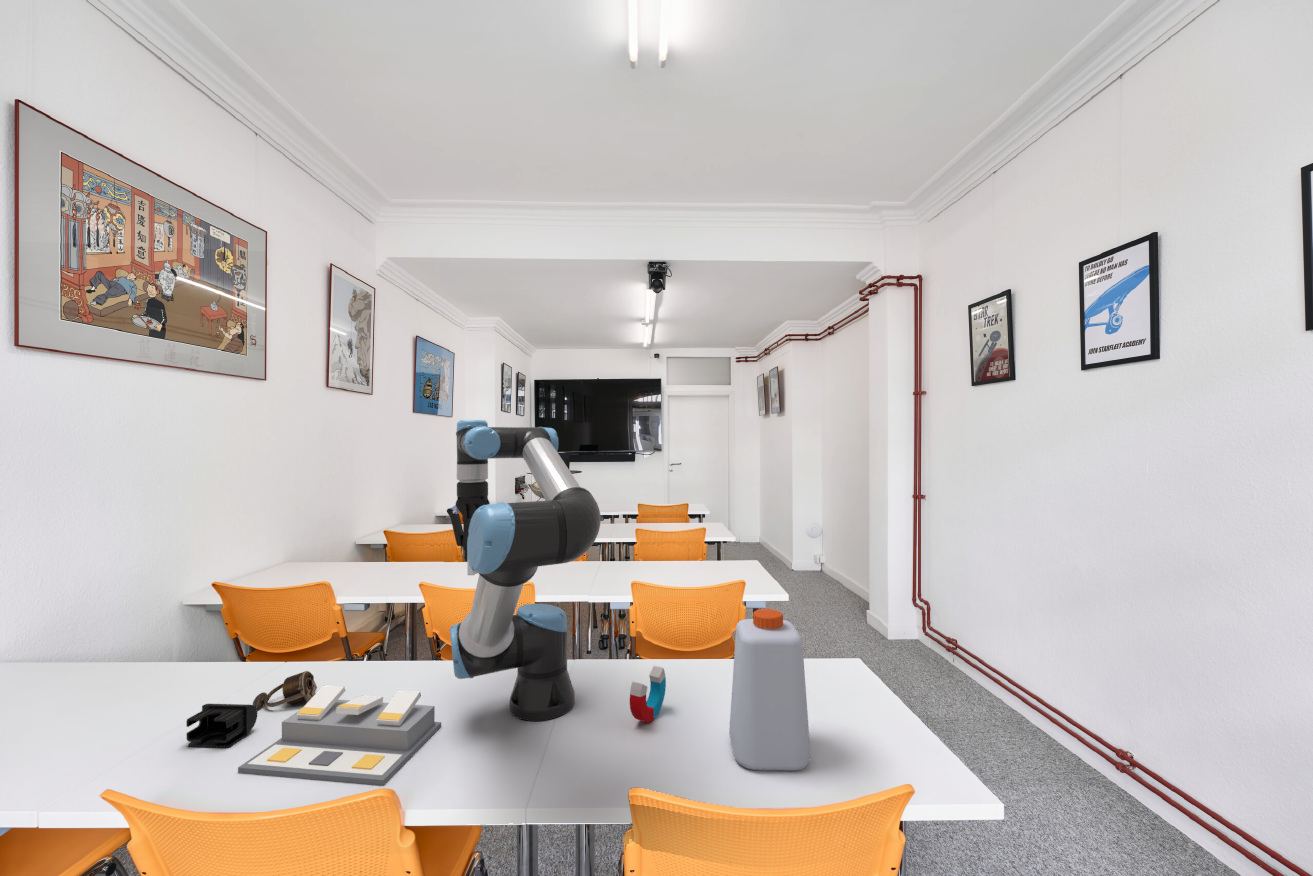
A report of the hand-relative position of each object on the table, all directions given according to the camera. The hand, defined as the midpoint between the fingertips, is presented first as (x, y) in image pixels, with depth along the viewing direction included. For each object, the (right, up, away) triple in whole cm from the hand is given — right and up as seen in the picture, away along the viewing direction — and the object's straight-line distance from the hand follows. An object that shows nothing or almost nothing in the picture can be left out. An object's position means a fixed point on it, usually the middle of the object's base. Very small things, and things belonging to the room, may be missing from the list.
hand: (472, 573), depth 134 cm
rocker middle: (-17, -23, -21) cm, 35 cm away
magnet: (+45, -30, -14) cm, 55 cm away
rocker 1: (-26, -23, -20) cm, 39 cm away
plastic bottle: (+69, -29, -26) cm, 80 cm away
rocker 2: (-8, -23, -22) cm, 33 cm away
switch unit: (-17, -30, -25) cm, 42 cm away
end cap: (-46, -30, -21) cm, 59 cm away
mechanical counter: (-43, -30, -6) cm, 53 cm away
